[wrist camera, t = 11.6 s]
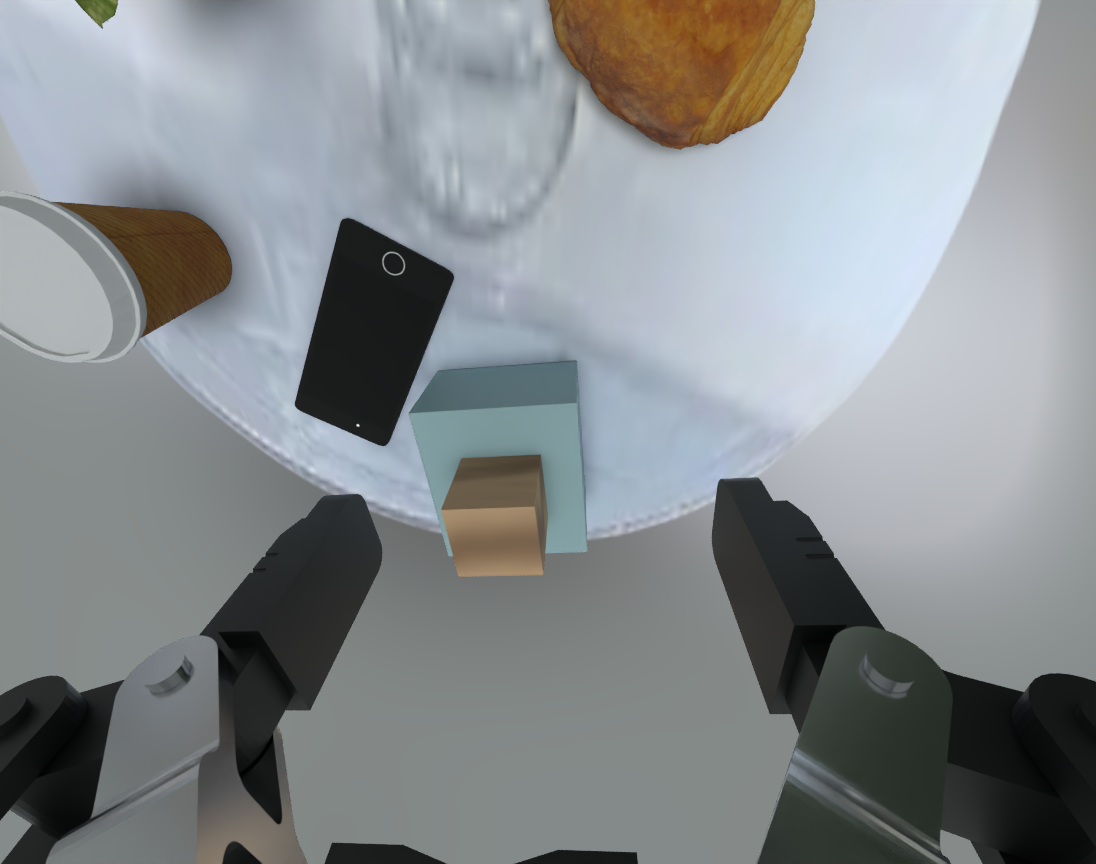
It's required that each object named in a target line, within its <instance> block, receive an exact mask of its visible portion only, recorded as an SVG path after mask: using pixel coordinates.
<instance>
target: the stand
mask: <svg viewBox="0 0 1096 864" xmlns="http://www.w3.org/2000/svg"><path fill="white" fill-rule="evenodd" d="M409 417H410V420H411V424H412V427H413V431H414V434H415V438H416V442H417V445H418V449H419V452H420V456H421V459H422V463H423V467H424V470H425V474H426V477H427V481H428V484H429V488H430V491H431V495H432V499H433V502H434V506H435V509H436V513H437V516H438V520H439V523H440V527H441V531H442V534H443V537H444V541H445V545H446V548H447V552H448V556H453V554H452V550H451V546H450V543H449V539H448V535H447V531H446V528H445V524H444V520H443V516H442V512H441V508H442V506H443V503H444V501H445V498H446V496H447V493H448V491H449V488H450V486H451V483H452V481H453V478H454V476H455V473H456V471H457V468H458V466H459V463H460V461H461V458H476V457H498V456H519V455H540V454H541V460H542V469H543V477H544V486H545V495H546V503H547V512H548V525H547V537H546V550H545V553H567V552H587V526H586V494H585V479H584V464H583V449H582V435H581V420H580V405H579V391H578V376H577V361H567V362H553V363H539V364H525V365H511V366H497V367H483V368H469V369H455V370H441V371H438V372H437V373H436V375H435V376H434V377H433V379H432V380H431V382H430V383H429V385H428V386H427V388H426V389H425V390H424V392H423V393H422V395H421V396H420V398H419V399H418V401H417V402H416V403H415V405H414V406H413V408H412V409H411V411H410V412H409Z"/></svg>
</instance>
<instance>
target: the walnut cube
mask: <svg viewBox="0 0 1096 864" xmlns="http://www.w3.org/2000/svg"><path fill="white" fill-rule="evenodd" d="M441 512H442V516H443V520H444V524H445V528H446V531H447V535H448V539H449V543H450V546H451V550H452V554H453V558H454V561H455V565H456V569H457V573H458V576H459V577H464V576H509V575H543V574H544V562H545V550H546V537H547V525H548V512H547V503H546V495H545V486H544V477H543V469H542V460H541V454H540V455H519V456H498V457H476V458H461V461H460V463H459V466H458V468H457V471H456V473H455V476H454V478H453V481H452V483H451V486H450V488H449V491H448V493H447V496H446V498H445V501H444V503H443V506H442V508H441Z"/></svg>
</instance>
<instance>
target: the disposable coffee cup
mask: <svg viewBox="0 0 1096 864" xmlns="http://www.w3.org/2000/svg"><path fill="white" fill-rule="evenodd" d="M230 278H231V262H230V258H229V255H228V252H227V250H226V248H225V246H224V244H223V242H222V241H221V239H220V238H219V237H218V235H217V234H216V233H215V232H214V231H213V230H212V229H211V228H210V227H209V226H208V225H207V224H205V223H204V222H203V221H202V220H200V219H198V218H196V217H195V216H193V215H190V214H188V213H185V212H180V211H169V210H155V209H141V208H130V207H115V206H99V205H89V204H75V203H62V202H50V201H47V200H44V199H41V198H39V197H36V196H31V195H27V194H23V193H18V192H6V191H0V334H1V335H2V336H4V337H6V338H7V339H9V340H10V341H12V342H14V343H15V344H17V345H19V346H20V347H22V348H23V349H25V350H27V351H30V352H32V353H35V354H37V355H40V356H42V357H45V358H47V359H51V360H56V361H62V362H91V363H97V362H108V361H111V360H115V359H118V358H120V357H121V356H123V355H125V354H127V353H128V352H129V351H130V350H131V349H132V348H133V347H134V346H135V345H136V343H137V341H138V340H139V339H140V338H142V337H143V336H145V335H147V334H149V333H150V332H152V331H154V330H156V329H157V328H159V327H161V326H163V325H164V324H166V323H168V322H170V321H171V320H173V319H175V318H177V317H178V316H180V315H182V314H183V313H185V312H187V311H189V310H190V309H192V308H194V307H195V306H197V305H199V304H201V303H202V302H204V301H206V300H208V299H209V298H211V297H213V296H215V295H217V294H218V293H220V292H222V291H223V290H224V289H225V288H226V287H227V285H228V283H229V282H230Z"/></svg>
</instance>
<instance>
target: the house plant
mask: <svg viewBox="0 0 1096 864" xmlns="http://www.w3.org/2000/svg"><path fill="white" fill-rule="evenodd" d="M75 1H76V2H77V3H78V4H79V6H80V7H81V8H82V9H83V10H84V11H85V12H86V13H87V14H88V15H89V16H90V17H91V18H92V19H93V20H94V21H95V22H96V23H97V24H98V25H99V26H100V27H101V28H102V29H103V27H102V23H104V22H105V21H108V19H110V18H111V17H113V16H114V15H115V12H116V9H117V5H118V0H75Z"/></svg>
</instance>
